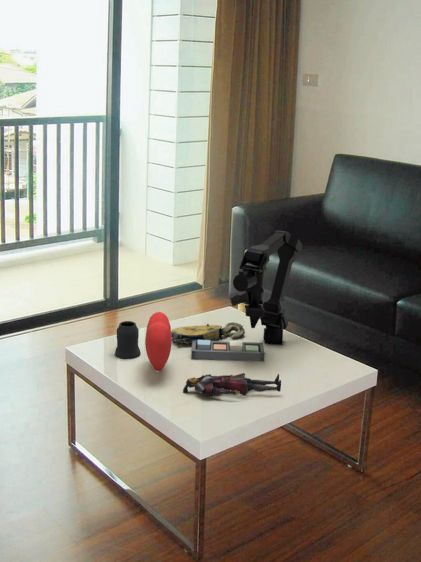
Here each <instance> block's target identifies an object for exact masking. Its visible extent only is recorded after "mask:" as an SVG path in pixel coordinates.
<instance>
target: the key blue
mask: <svg viewBox="0 0 421 562" xmlns="http://www.w3.org/2000/svg"><path fill="white" fill-rule="evenodd" d="M197 350H210V340H198V344H197Z"/></svg>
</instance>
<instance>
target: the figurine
mask: <svg viewBox="0 0 421 562" xmlns="http://www.w3.org/2000/svg"><path fill="white" fill-rule="evenodd" d="M270 385H271V386H270ZM272 385H276V386H272ZM191 388H194V390H195V391H196V392H197V393H200V394H201V395H205V396H207V397H208V396H212V395H216V396H218V395H235V396H236V395H237V394H239V395H241V396H244V397H247V395H248V393H249V392H250V391H257V392H266V391H278V392H281V388H282V379H280V374H279V373H277V376H276V377H275V379H274V381H273V380H265V379H251V378H248V377H246V373H245V372H241V373H238V374H235V375H233V374H229V375H227V374H226V375H218V376H217V375H212V374H210V373H209V374H203V375H201V376H199V377H197V378H196V377H189V378H187V379H186V381H185V385H184V386H183V389H182V392H183V393H186V394H187V393H188V392H189V390H188V389H191Z"/></svg>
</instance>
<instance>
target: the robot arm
mask: <svg viewBox="0 0 421 562" xmlns="http://www.w3.org/2000/svg"><path fill="white" fill-rule="evenodd" d="M302 250H303V243H302V242H301V240H300V239H299V238H297V237H295V236H293V235H292V234H290V232H289V231H284V230H283V231H282V230H275V231H274V233H273V234H272V235H271V236H269V238H267V239H266V240H265V241H263V242H262V243H261V244H259V245H252V246H250V247H248V248H247V249H246V250H245V252H244V255H243V257H242V259H241V262H240V265H239V267H238V268H239V270H238V274H237V275H235V276H234V278H233V280H232V285H233V287H234V288H235V289H234V290H236V291H235V292H231V293H230V294H229V295H228V297H229V300H230V303H231V306H232V307H235V306H237V305H240V304H243V303H244V304H245V305H244V308H245V312H244V313H245V317H249V322H250V328H251V329H255V328H256V326H257V324H258V322H259V320H260V323H261V326H265V327H264V328H263V337H262V338H263V342H264V344H265V345H276V346H277V345H279V346H281V345H284V342H283V341H284V340H283V338H284V330H286V329H287V327H288V325H289V319H288V318H287V316H286V307H285V304H284V299H285V295H286V291H287V287H288V282H289V279H290V275H291V270H292V267H293V263H294V262H296V260H298V258H299V257H300V254H301V252H302ZM276 251H277V252H276ZM275 252H276V253H277V256H278V259H279V262H278V264H277V265H278V266H277V269H276V271H275V272H276V273H275V277H274V281H273V285H272V288H271V289H272V290H271V293H270V297H269V299H268V300H267V301H263V300H264V299H263V297H264V284H265V283H264V281H265V271H266V270H267V269H268V268H267V264H268V263H269V262H270V257H271V255H272V254H274V253H275Z"/></svg>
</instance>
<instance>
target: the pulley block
mask: <svg viewBox="0 0 421 562" xmlns="http://www.w3.org/2000/svg"><path fill="white" fill-rule="evenodd" d="M232 331H234V333H233V334H232V335H231V339H239V338H242V337H244V335H245V334H246V332H245V328H244V325H242V324H241V323H237V322H235V321H234V322H227V323H226V324H225V326H222V325H216V324H210V323H207V324H206V325H189V326H179V327H175V328H171V334H172V342H176V343H179V344H183V343H184V344H187V345H189V343H190V344H191V343H192V342H193V340H197V341H198V340H210V341H219V340H222V339H223V336H227V335H228V334H230V333H231V332H232Z"/></svg>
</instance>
